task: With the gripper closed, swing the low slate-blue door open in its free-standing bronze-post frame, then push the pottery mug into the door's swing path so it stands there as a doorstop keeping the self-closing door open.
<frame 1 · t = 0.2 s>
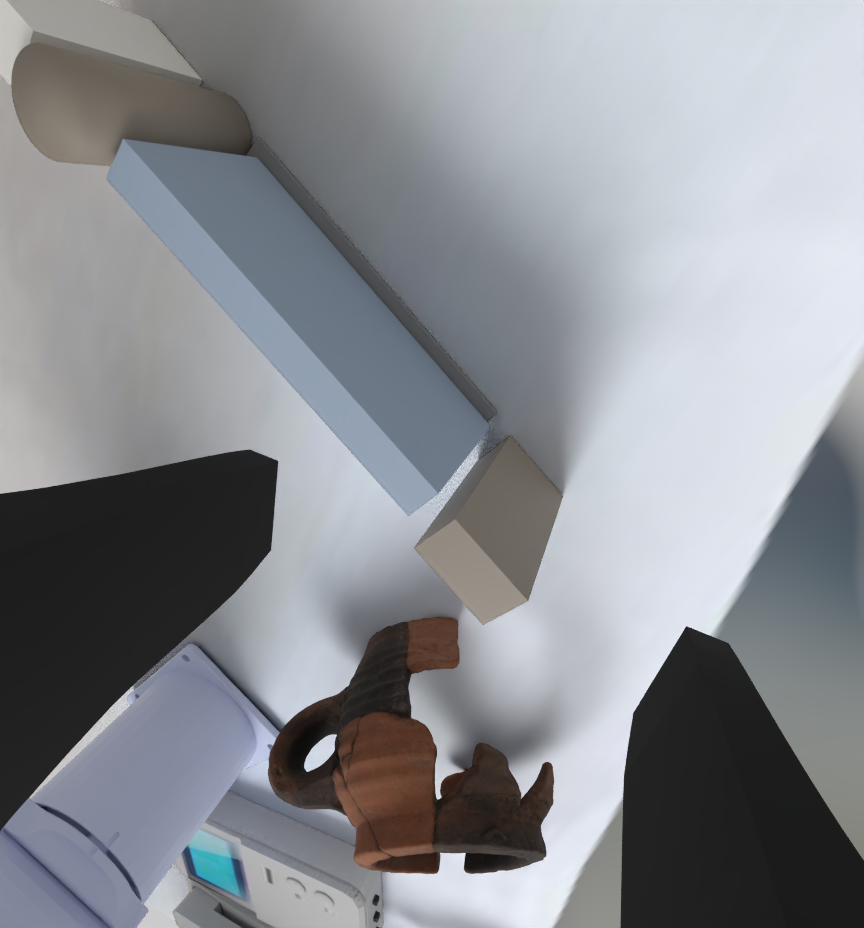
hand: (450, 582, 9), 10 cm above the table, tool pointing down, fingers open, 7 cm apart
intercom: (347, 890, 36), on the table
door: (315, 332, 16), point 3 cm above the table, hinge at 0.0°
doorframe: (365, 301, 19), on the table
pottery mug: (435, 695, 26), on the table
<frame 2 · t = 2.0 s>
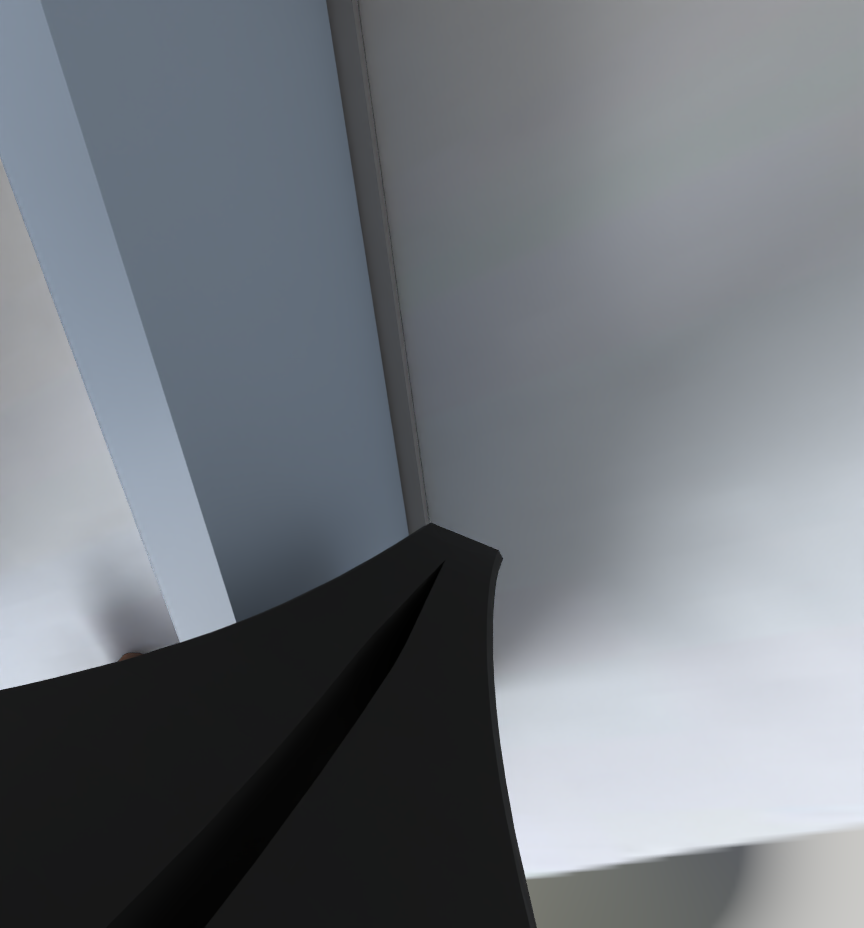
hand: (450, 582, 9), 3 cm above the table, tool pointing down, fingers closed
door: (249, 396, 9), point 3 cm above the table, hinge at 0.0°, touching gripper
doorframe: (359, 345, 11), on the table
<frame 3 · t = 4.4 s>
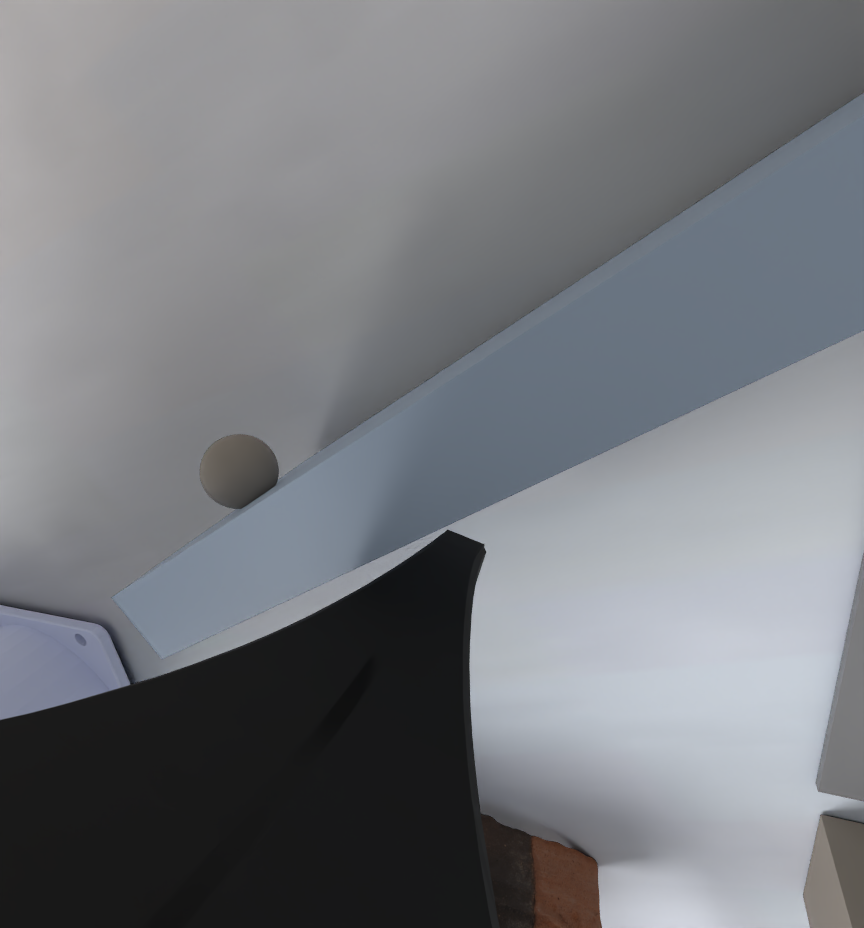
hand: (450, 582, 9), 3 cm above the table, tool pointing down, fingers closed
door: (472, 359, 7), point 3 cm above the table, hinge at 61.2°, touching gripper
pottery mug: (464, 872, 18), on the table
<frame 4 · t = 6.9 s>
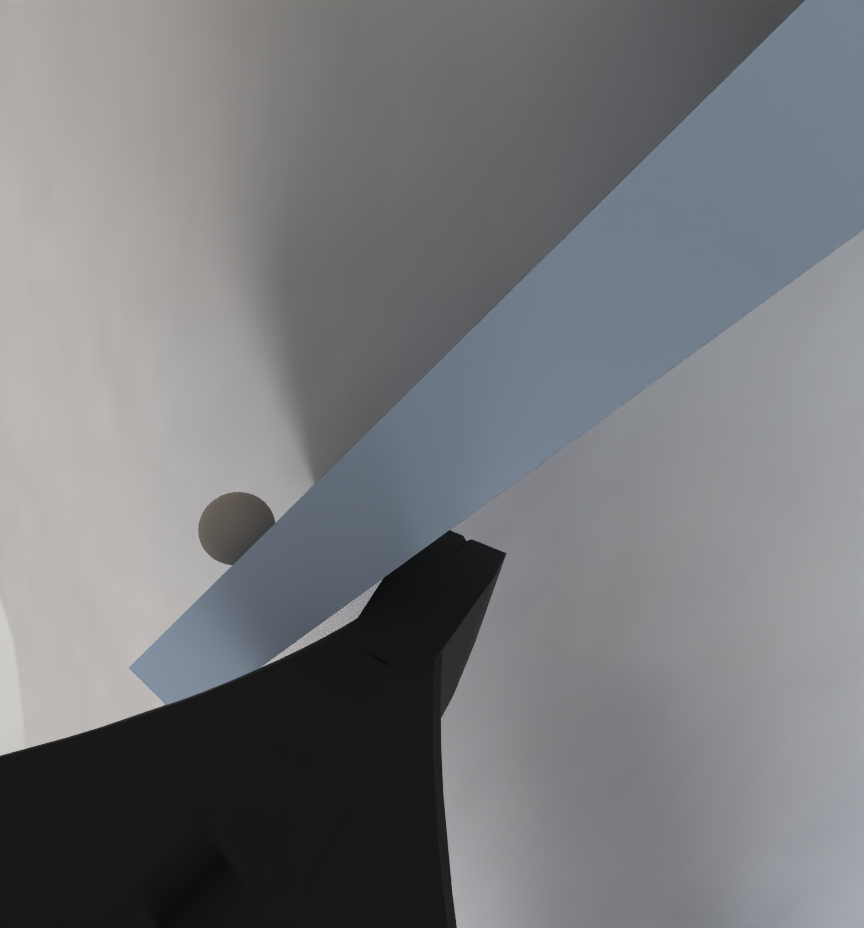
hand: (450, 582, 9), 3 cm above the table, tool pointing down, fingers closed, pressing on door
door: (435, 387, 7), point 3 cm above the table, hinge at 106.5°, touching gripper
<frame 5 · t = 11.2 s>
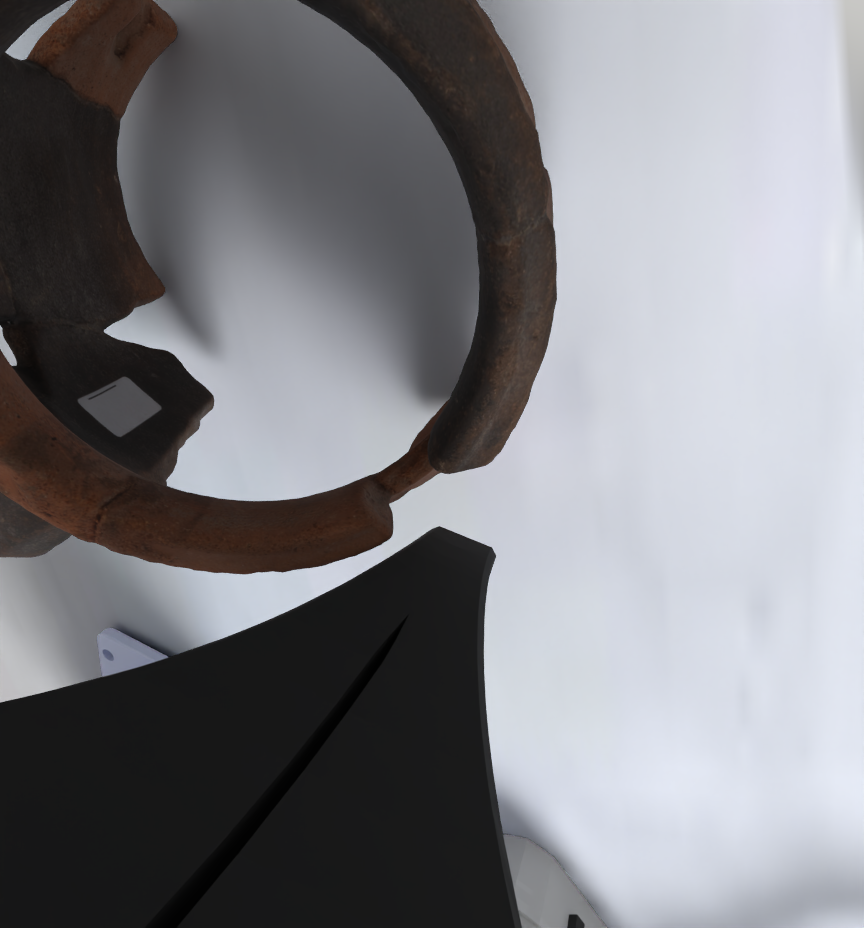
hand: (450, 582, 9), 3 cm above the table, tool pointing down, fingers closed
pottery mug: (296, 280, 12), on the table, touching gripper
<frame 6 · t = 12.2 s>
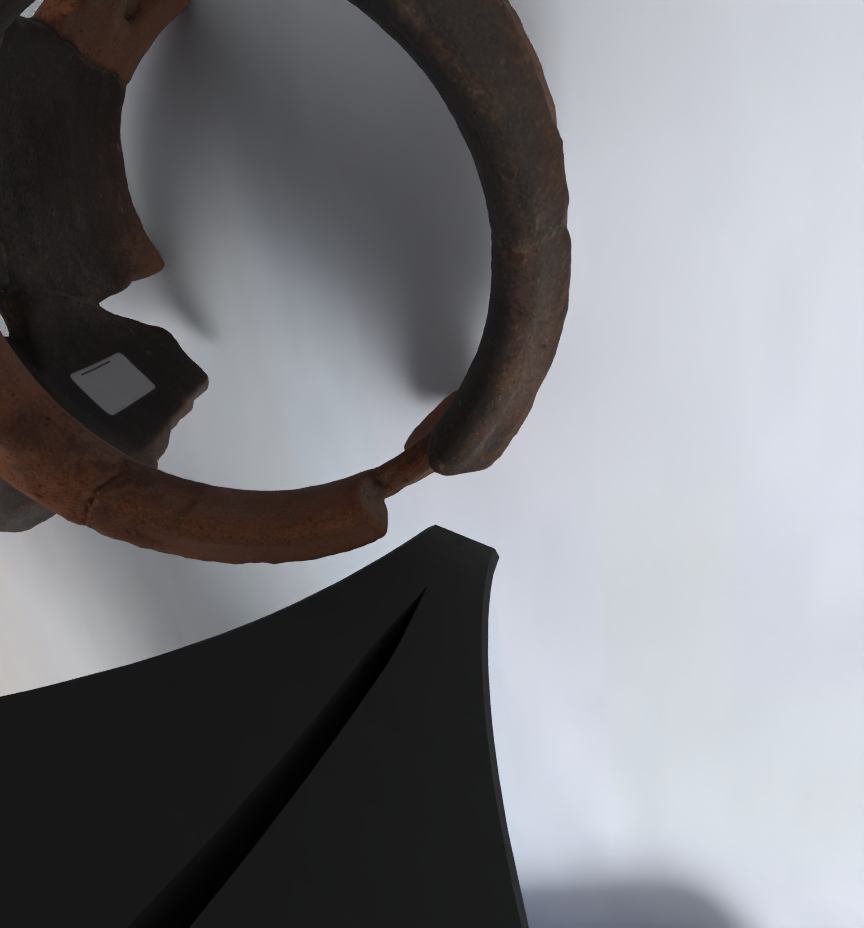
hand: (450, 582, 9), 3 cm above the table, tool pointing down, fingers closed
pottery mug: (299, 264, 12), on the table, touching gripper
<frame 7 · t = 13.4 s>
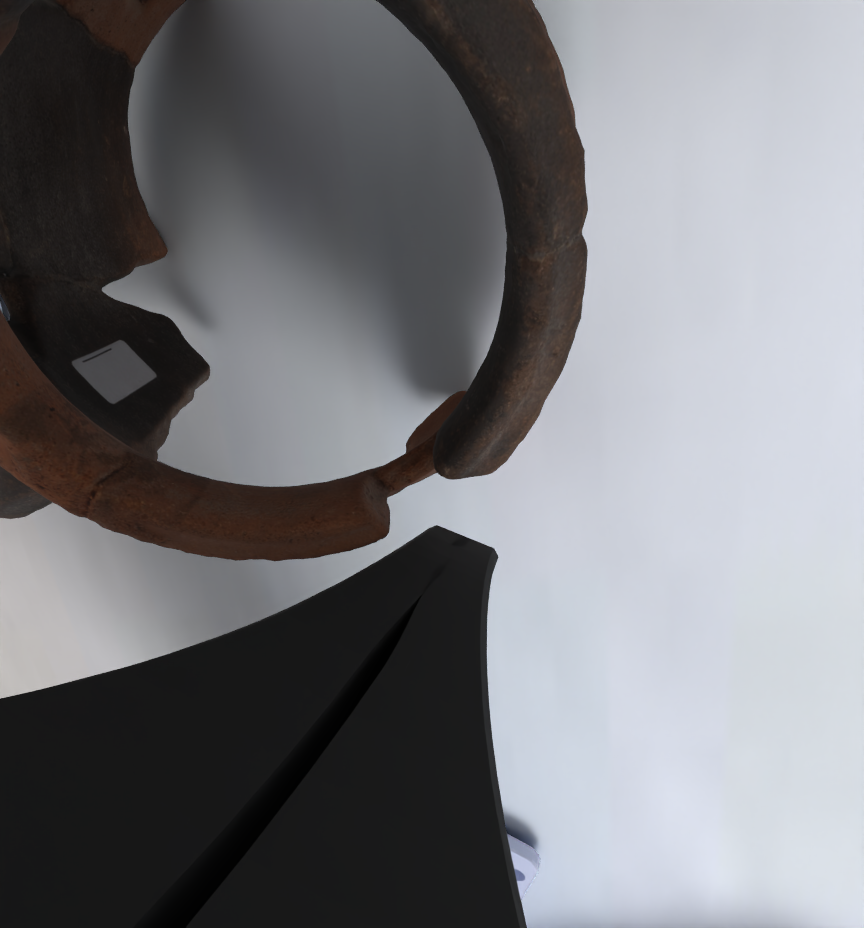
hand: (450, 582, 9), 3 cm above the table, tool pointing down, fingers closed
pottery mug: (306, 256, 11), on the table, touching gripper
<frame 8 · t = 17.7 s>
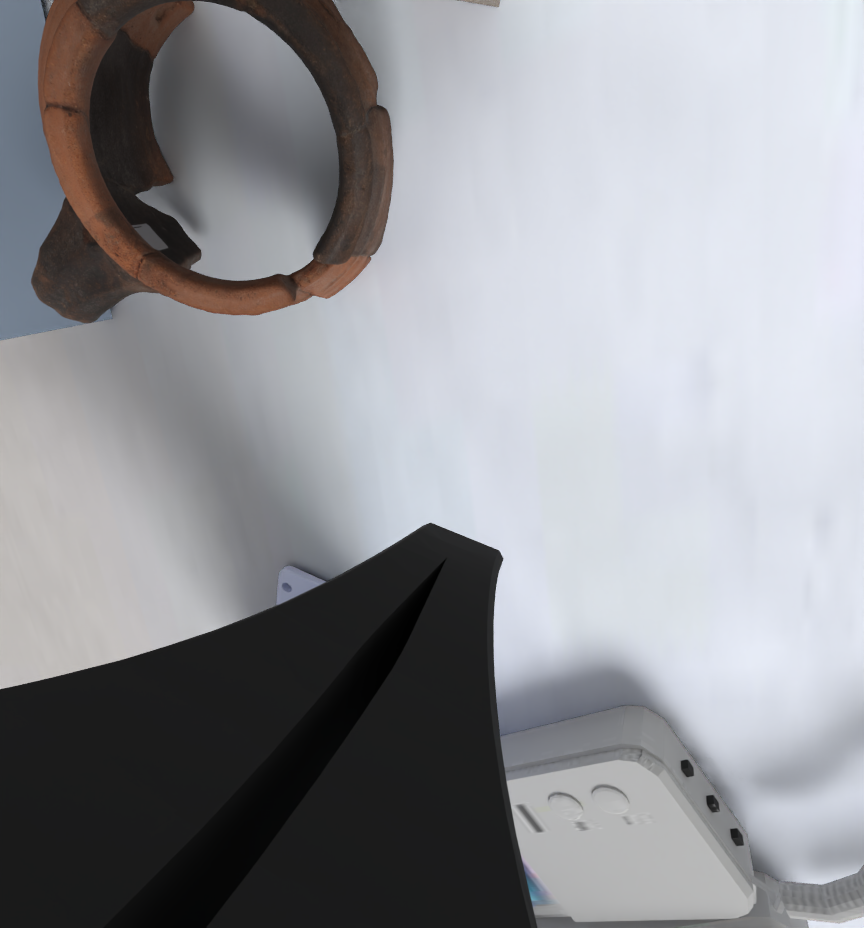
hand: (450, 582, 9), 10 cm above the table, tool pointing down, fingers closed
intercom: (667, 817, 23), on the table
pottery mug: (260, 177, 18), on the table
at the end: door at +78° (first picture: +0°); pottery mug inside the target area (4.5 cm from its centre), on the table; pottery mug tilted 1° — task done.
